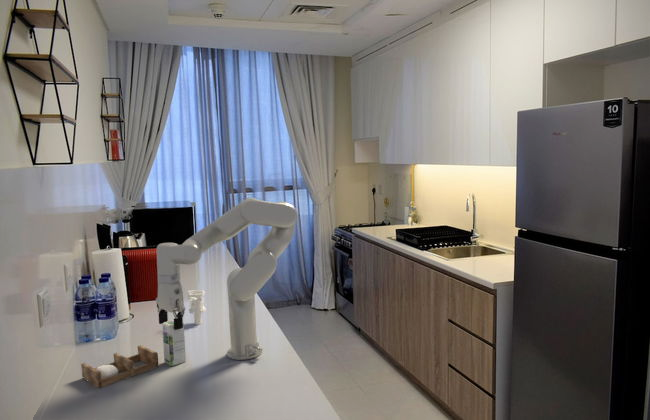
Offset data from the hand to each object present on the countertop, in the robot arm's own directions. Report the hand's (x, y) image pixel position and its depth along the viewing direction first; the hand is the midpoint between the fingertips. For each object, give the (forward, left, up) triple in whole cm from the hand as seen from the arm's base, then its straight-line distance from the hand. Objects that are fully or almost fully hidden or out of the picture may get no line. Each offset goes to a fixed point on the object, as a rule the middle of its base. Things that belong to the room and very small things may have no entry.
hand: (170, 325), depth 181 cm
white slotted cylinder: (+30, -31, -14) cm, 45 cm away
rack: (+7, +15, -13) cm, 21 cm away
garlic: (+8, +21, -14) cm, 26 cm away
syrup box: (0, -1, -14) cm, 14 cm away
